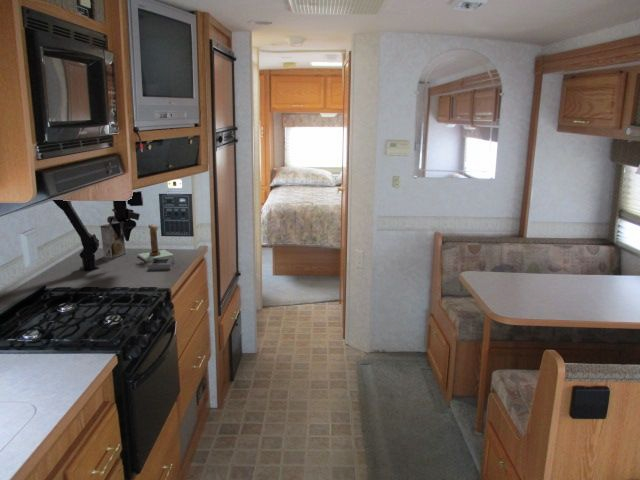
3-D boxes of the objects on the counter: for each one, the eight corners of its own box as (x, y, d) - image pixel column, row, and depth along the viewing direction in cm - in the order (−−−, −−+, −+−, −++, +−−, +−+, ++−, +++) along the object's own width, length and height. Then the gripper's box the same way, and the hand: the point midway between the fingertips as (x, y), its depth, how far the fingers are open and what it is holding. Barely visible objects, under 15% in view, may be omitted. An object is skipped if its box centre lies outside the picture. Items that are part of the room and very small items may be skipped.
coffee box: (116, 252, 279) (113, 222, 275) (126, 253, 276) (123, 223, 272) (103, 256, 271) (99, 225, 267) (112, 258, 268) (109, 226, 264)
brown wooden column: (153, 257, 266) (150, 228, 262) (147, 253, 272) (144, 225, 268) (163, 255, 269) (161, 226, 265) (157, 252, 275) (154, 223, 271)
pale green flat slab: (146, 261, 262) (146, 259, 262) (137, 256, 271) (137, 254, 271) (173, 256, 271) (173, 254, 270) (164, 251, 280) (164, 249, 279)
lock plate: (148, 270, 249) (147, 265, 248) (153, 262, 260) (153, 257, 260) (170, 269, 250) (170, 264, 249) (174, 262, 261) (174, 257, 261)
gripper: (145, 207, 247) (148, 239, 251) (127, 202, 260) (130, 233, 264) (122, 210, 240) (125, 244, 244) (105, 205, 253) (108, 237, 257)
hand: (123, 239), depth 252 cm, fingers open, 9 cm apart
